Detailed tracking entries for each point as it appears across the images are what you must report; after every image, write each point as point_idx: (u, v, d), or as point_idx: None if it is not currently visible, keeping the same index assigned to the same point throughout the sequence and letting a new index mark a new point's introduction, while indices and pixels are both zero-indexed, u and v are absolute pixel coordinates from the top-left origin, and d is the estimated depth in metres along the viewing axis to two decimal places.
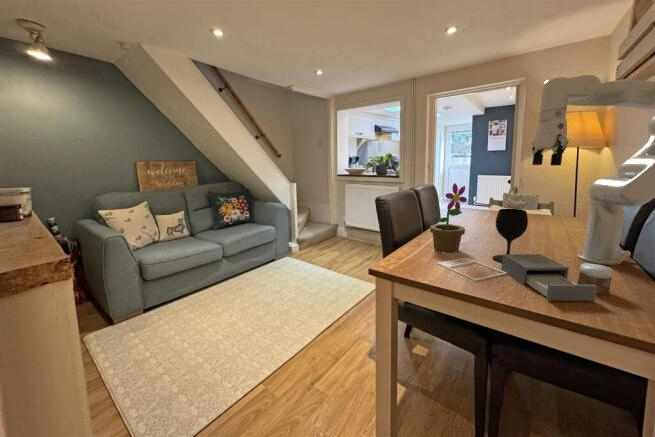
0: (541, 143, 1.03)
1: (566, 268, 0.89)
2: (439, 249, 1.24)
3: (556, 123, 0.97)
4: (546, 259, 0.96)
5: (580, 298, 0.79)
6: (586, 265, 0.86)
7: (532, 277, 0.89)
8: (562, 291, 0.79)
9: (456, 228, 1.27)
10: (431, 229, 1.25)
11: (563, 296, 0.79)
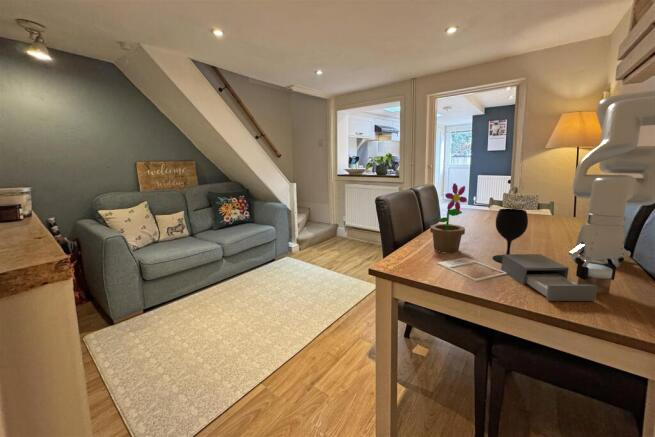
0: (604, 253, 0.82)
1: (566, 268, 0.89)
2: (439, 249, 1.24)
3: None
4: (546, 259, 0.96)
5: (580, 298, 0.79)
6: None
7: (532, 277, 0.89)
8: (562, 291, 0.79)
9: (456, 228, 1.27)
10: (431, 229, 1.25)
11: (563, 296, 0.79)
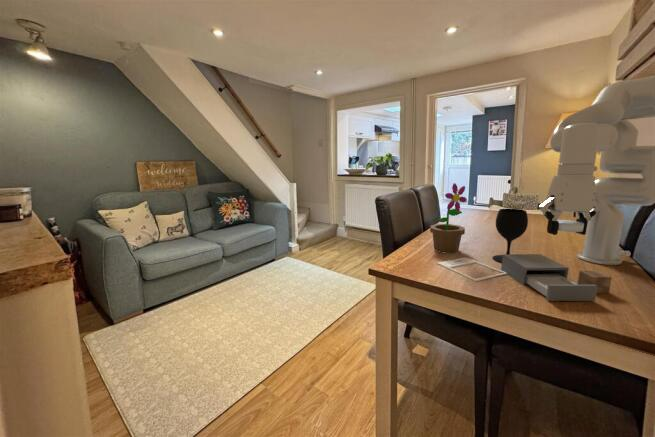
0: (575, 205, 0.78)
1: (566, 268, 0.89)
2: (439, 249, 1.24)
3: None
4: (546, 259, 0.96)
5: (580, 298, 0.79)
6: None
7: (532, 277, 0.89)
8: (562, 291, 0.79)
9: (456, 228, 1.27)
10: (431, 229, 1.25)
11: (563, 296, 0.79)
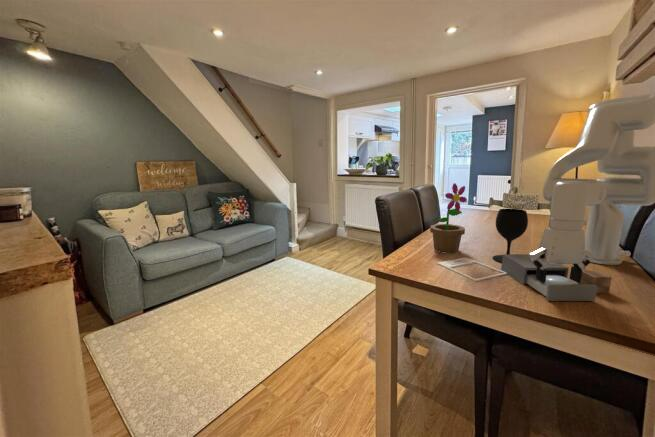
0: (565, 258, 0.81)
1: (566, 268, 0.89)
2: (439, 249, 1.24)
3: None
4: None
5: (580, 298, 0.79)
6: (549, 277, 0.86)
7: (532, 277, 0.89)
8: (562, 291, 0.79)
9: (456, 228, 1.27)
10: (431, 229, 1.25)
11: (563, 296, 0.79)
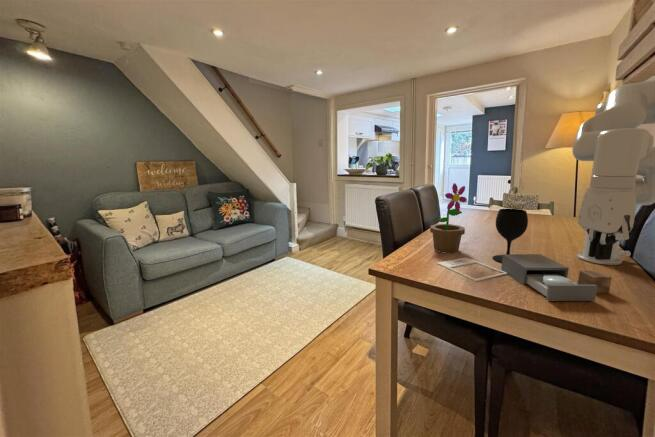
0: None
1: (566, 268, 0.89)
2: (439, 249, 1.24)
3: None
4: (546, 259, 0.96)
5: (580, 298, 0.79)
6: (549, 277, 0.86)
7: (532, 277, 0.89)
8: (562, 291, 0.79)
9: (456, 228, 1.27)
10: (431, 229, 1.25)
11: (563, 296, 0.79)
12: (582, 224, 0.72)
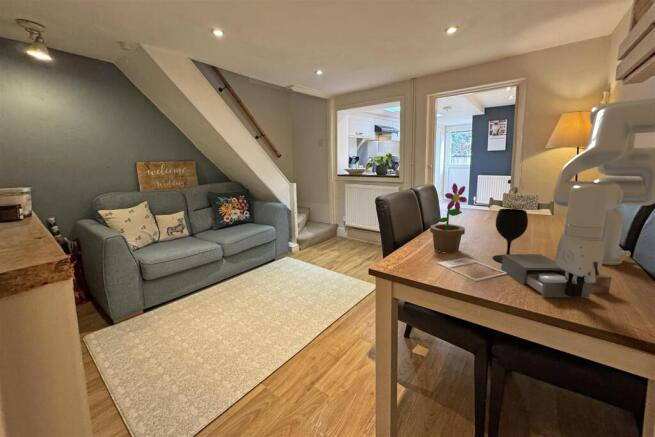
0: None
1: None
2: (439, 249, 1.24)
3: None
4: (546, 259, 0.96)
5: None
6: (544, 275, 0.88)
7: (528, 274, 0.91)
8: (557, 288, 0.81)
9: (456, 228, 1.27)
10: (431, 229, 1.25)
11: (558, 293, 0.81)
12: (558, 265, 0.80)
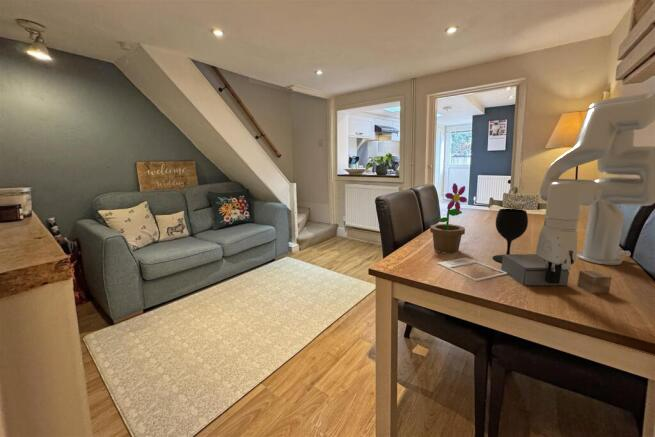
0: None
1: None
2: (439, 249, 1.24)
3: None
4: None
5: None
6: None
7: None
8: (538, 276, 0.89)
9: (456, 228, 1.27)
10: (431, 229, 1.26)
11: (539, 281, 0.89)
12: (539, 255, 0.88)
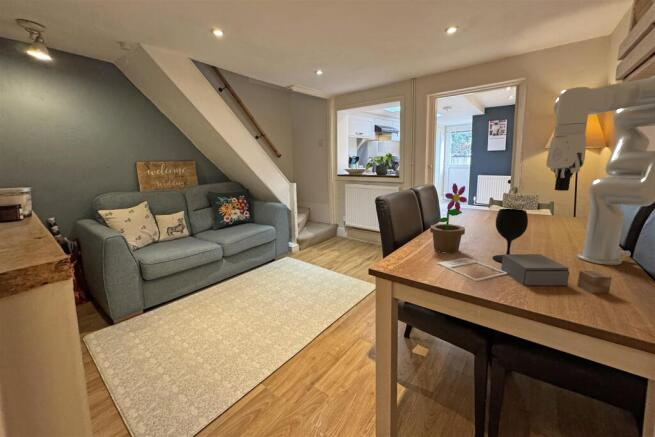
0: None
1: (566, 268, 0.89)
2: (439, 249, 1.24)
3: None
4: (546, 259, 0.96)
5: (554, 283, 0.89)
6: None
7: None
8: (538, 277, 0.89)
9: (456, 228, 1.27)
10: (431, 229, 1.25)
11: (539, 281, 0.89)
12: (549, 165, 0.93)
